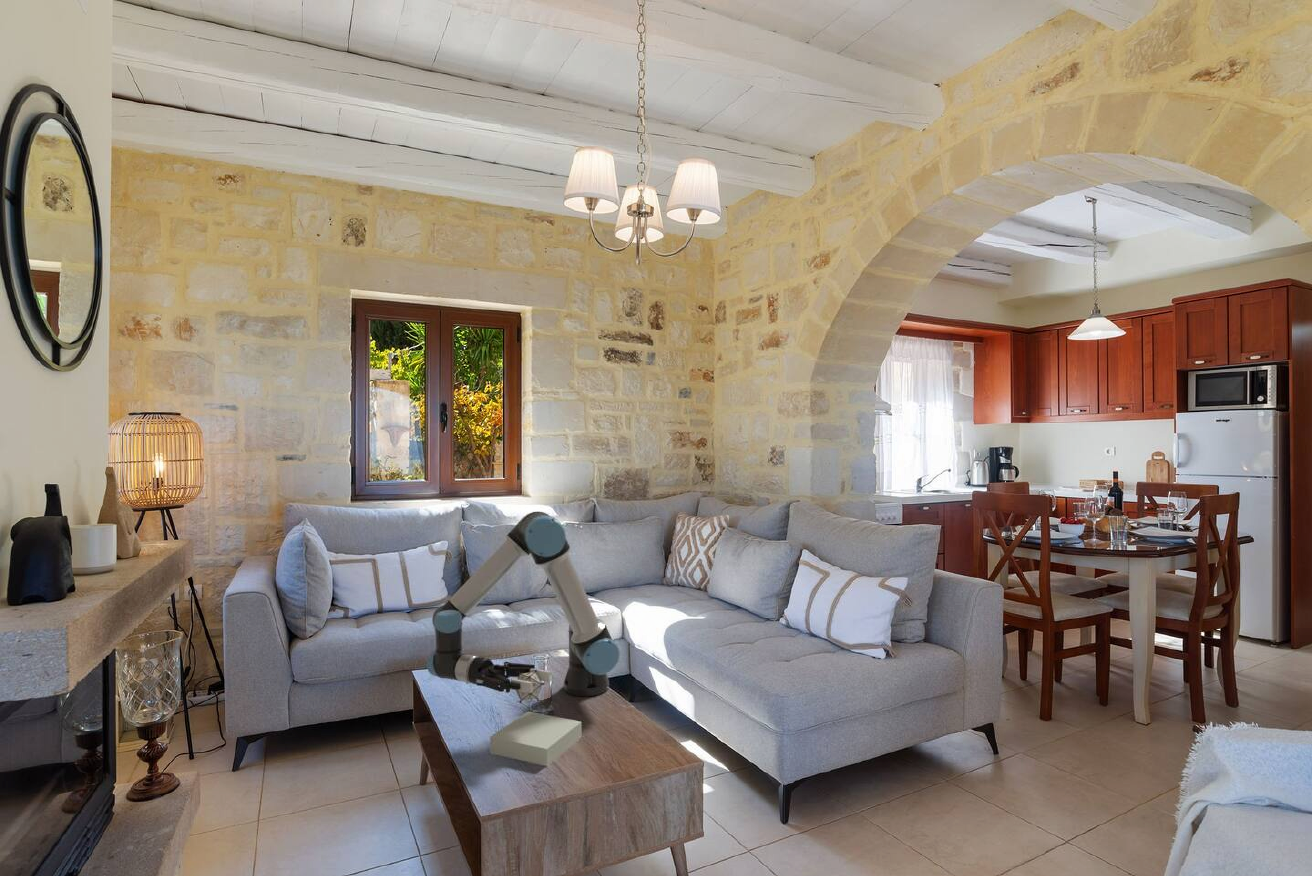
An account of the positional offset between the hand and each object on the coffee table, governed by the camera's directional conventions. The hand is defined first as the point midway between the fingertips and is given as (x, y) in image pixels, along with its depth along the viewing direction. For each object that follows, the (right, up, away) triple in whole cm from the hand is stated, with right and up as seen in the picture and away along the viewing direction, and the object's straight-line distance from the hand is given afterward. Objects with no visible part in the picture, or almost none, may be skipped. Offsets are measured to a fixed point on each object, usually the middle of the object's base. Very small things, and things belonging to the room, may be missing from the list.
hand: (540, 682), depth 193 cm
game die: (-4, -6, +3) cm, 8 cm away
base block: (-1, -18, +1) cm, 18 cm away
